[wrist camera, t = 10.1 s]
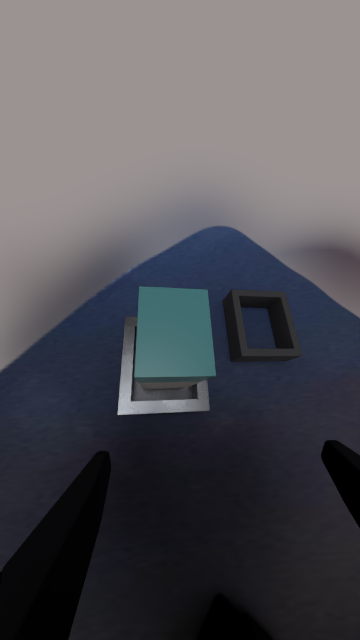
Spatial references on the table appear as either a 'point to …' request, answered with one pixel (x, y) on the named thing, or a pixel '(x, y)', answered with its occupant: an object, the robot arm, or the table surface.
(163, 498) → the table surface
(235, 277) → the table surface
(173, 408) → the port
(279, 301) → the frame
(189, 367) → the plug
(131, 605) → the table surface
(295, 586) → the table surface
